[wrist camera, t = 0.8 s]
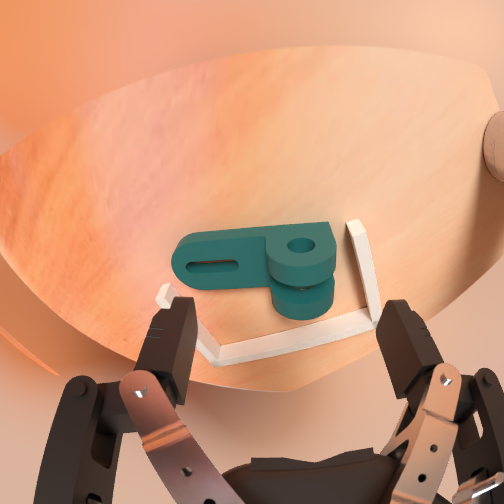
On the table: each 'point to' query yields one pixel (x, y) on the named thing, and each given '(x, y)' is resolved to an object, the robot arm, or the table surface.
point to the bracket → (265, 264)
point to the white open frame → (301, 335)
